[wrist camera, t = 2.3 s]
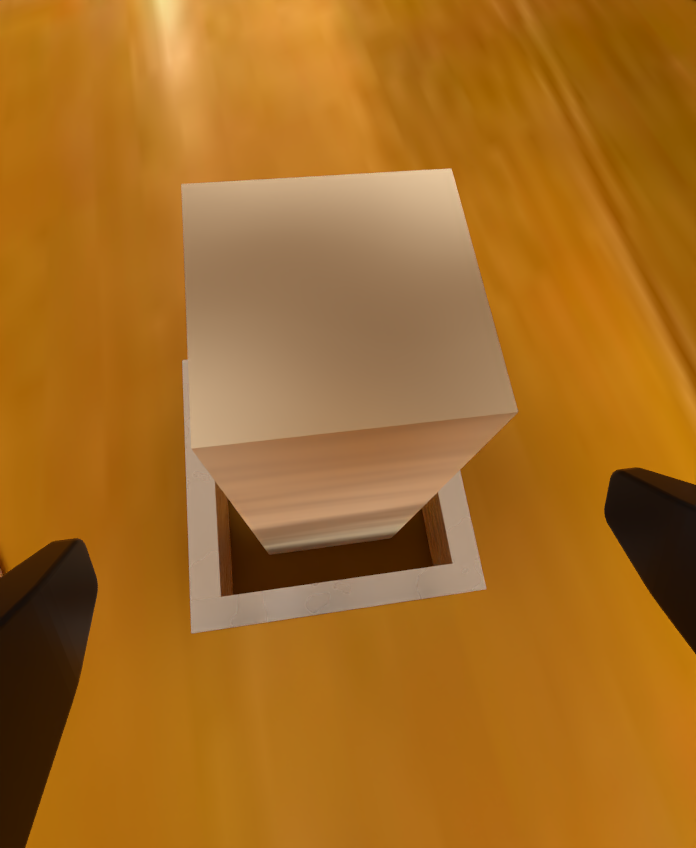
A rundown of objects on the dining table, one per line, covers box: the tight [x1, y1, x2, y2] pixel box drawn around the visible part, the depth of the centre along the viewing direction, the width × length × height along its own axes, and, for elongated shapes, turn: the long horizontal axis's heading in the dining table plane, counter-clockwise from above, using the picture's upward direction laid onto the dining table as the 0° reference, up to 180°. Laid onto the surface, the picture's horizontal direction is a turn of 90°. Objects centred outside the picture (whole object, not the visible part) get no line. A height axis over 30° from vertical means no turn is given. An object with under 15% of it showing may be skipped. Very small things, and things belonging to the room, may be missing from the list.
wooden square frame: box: [182, 360, 486, 633], centre depth 20 cm, size 10×10×3 cm
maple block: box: [181, 169, 518, 555], centre depth 15 cm, size 5×5×14 cm
